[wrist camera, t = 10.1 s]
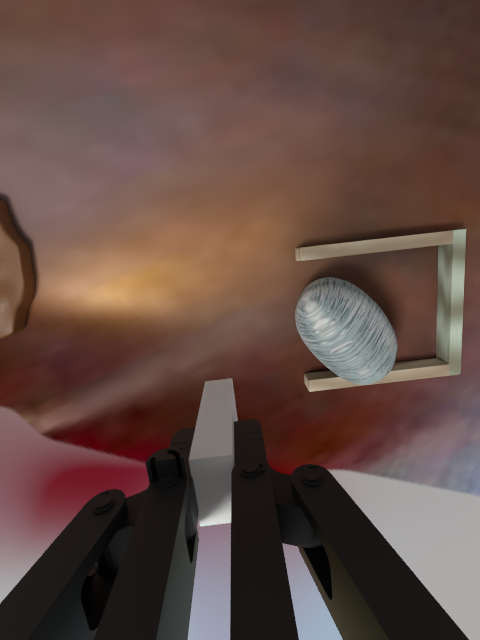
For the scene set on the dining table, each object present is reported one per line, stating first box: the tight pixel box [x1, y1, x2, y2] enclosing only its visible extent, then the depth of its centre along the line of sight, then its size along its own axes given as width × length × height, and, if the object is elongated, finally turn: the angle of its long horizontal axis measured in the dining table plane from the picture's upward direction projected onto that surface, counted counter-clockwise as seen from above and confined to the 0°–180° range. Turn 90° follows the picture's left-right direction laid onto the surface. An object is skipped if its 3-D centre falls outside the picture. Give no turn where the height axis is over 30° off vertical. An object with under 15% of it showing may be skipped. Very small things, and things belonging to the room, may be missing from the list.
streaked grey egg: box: [295, 277, 397, 385], centre depth 35 cm, size 14×10×10 cm
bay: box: [295, 229, 466, 392], centre depth 38 cm, size 18×20×2 cm
